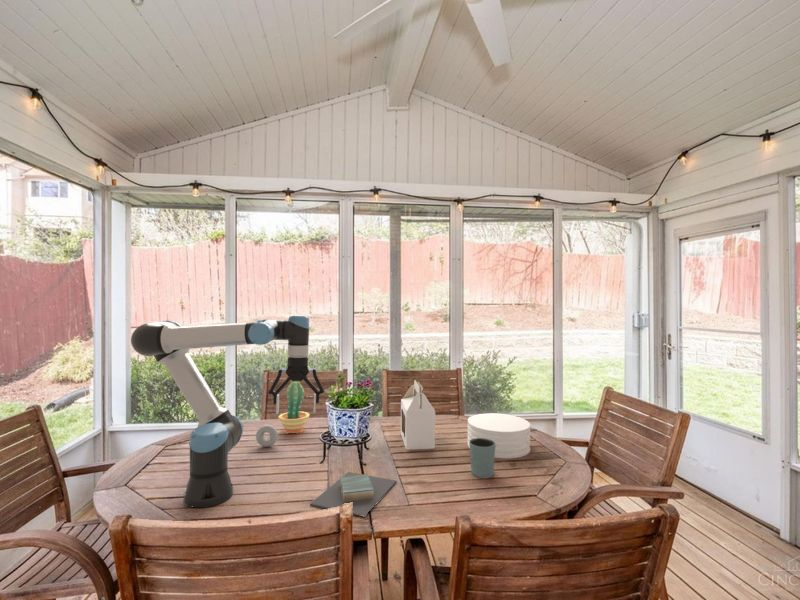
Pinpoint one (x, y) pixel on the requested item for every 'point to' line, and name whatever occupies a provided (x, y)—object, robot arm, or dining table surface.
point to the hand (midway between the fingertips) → (296, 412)
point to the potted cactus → (294, 409)
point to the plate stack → (502, 433)
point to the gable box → (417, 419)
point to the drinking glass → (482, 457)
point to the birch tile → (356, 488)
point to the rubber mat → (334, 499)
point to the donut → (267, 442)
